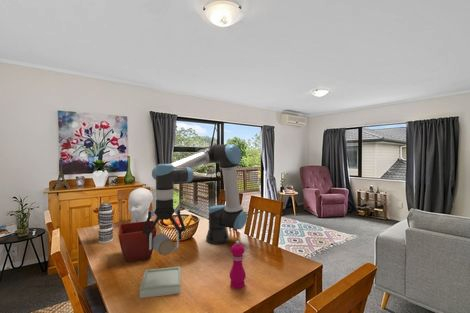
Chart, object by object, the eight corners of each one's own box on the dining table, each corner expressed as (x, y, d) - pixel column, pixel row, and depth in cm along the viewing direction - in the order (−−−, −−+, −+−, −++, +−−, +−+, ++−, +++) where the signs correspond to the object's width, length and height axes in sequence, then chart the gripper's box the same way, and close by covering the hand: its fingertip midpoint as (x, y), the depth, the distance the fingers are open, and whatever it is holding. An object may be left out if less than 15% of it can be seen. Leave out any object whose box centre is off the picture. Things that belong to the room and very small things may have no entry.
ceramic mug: (158, 258, 101) (159, 240, 101) (151, 251, 107) (151, 234, 107) (181, 252, 108) (182, 235, 107) (173, 246, 114) (173, 230, 114)
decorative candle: (114, 241, 158) (114, 203, 157) (98, 244, 153) (98, 205, 152) (112, 237, 166) (112, 201, 165) (97, 239, 160) (97, 202, 160)
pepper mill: (228, 281, 110) (229, 238, 110) (244, 280, 111) (244, 237, 110) (229, 290, 103) (230, 244, 102) (246, 289, 103) (246, 243, 103)
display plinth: (180, 274, 116) (180, 266, 116) (180, 293, 100) (180, 284, 100) (145, 277, 112) (145, 269, 112) (139, 298, 97) (139, 288, 97)
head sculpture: (119, 228, 184) (119, 189, 184) (136, 220, 207) (136, 185, 206) (143, 230, 181) (143, 190, 180) (157, 221, 203) (157, 186, 203)
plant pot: (118, 266, 124) (118, 234, 123) (119, 252, 141) (119, 223, 141) (156, 259, 131) (156, 229, 131) (153, 247, 149) (153, 220, 148)
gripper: (190, 196, 113) (190, 242, 113) (138, 197, 107) (137, 246, 108) (191, 199, 105) (191, 248, 106) (135, 201, 100) (134, 253, 100)
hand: (164, 247), depth 107 cm, fingers closed on ceramic mug, 11 cm apart
